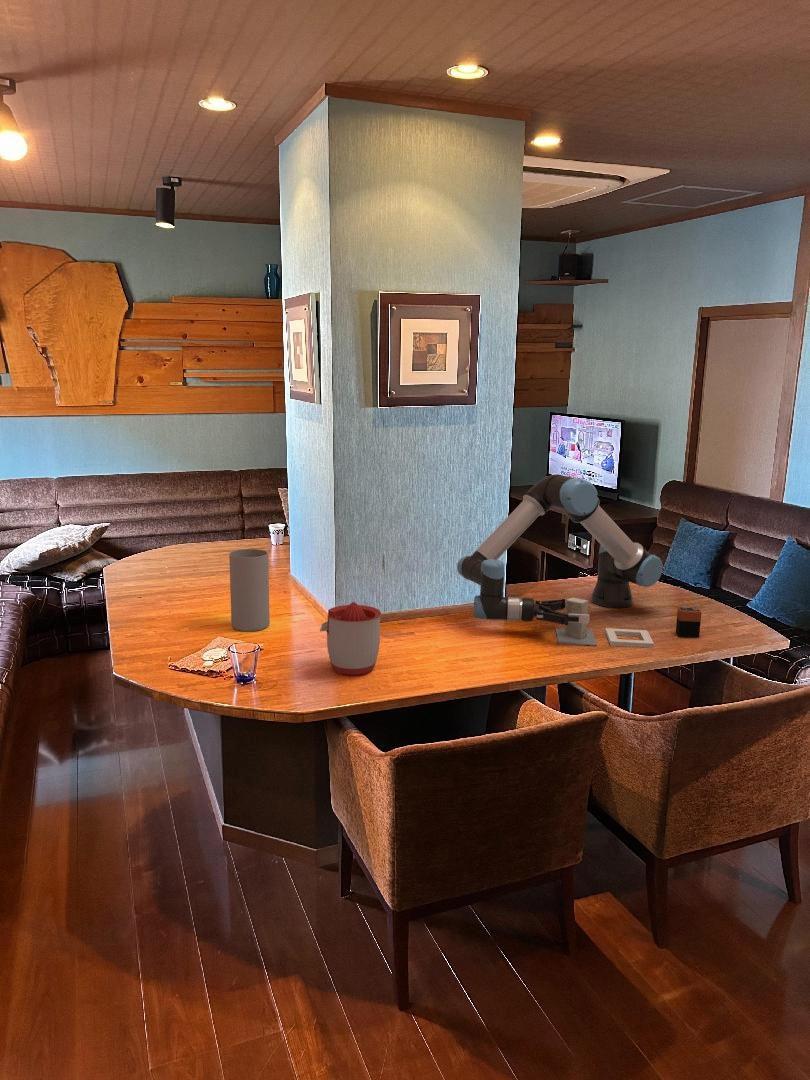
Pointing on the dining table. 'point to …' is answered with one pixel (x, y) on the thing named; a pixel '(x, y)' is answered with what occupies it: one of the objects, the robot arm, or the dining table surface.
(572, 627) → the skincare box
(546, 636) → the dining table surface
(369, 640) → the citrus juicer
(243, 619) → the cylinder vase
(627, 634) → the white square frame
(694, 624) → the battery
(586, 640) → the grey mat
